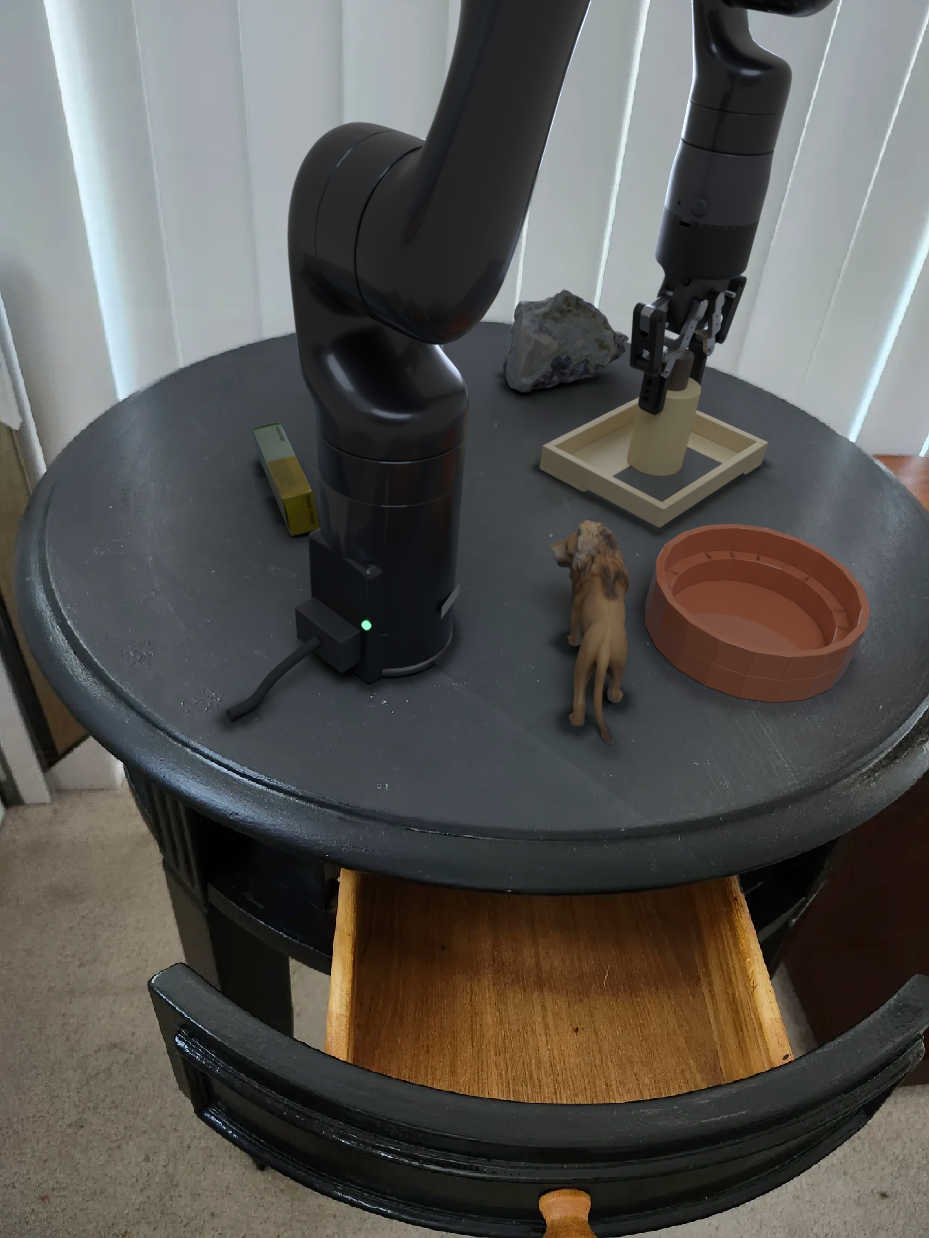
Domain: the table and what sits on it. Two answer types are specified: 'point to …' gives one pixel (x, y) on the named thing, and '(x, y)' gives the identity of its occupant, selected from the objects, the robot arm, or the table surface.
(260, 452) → the medication box
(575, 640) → the lion figurine
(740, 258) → the robot arm
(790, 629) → the bowl
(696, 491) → the tray
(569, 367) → the mineral rock
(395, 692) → the table surface
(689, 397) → the bottle
